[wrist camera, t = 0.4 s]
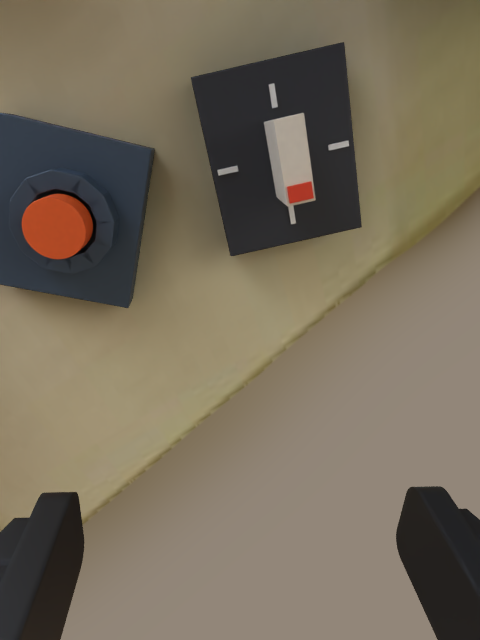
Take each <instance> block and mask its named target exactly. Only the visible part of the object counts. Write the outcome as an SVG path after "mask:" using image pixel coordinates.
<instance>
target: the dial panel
mask: <svg viewBox="0 0 480 640" xmlns="http://www.w3.org/2000/svg"><path fill="white" fill-rule="evenodd" d="M191 81H192V85H193V90H194V94H195V99H196V103H197V108H198V112H199V117H200V121H201V126H202V130H203V135H204V139H205V144H206V148H207V153H208V157H209V162H210V166H211V170H212V175H213V179H214V184H215V188H216V193H217V197H218V202H219V206H220V211H221V215H222V220H223V224H224V229H225V233H226V238H227V242H228V247H229V251H230V256H235V255H239V254H244V253H248V252H253V251H257V250H262V249H266V248H271V247H275V246H280V245H284V244H288V243H293V242H297V241H302V240H306V239H311V238H315V237H320V236H324V235H329V234H333V233H338V232H342V231H347V230H351V229H355V228H360V227H362V226H361V215H360V205H359V194H358V184H357V173H356V163H355V152H354V142H353V131H352V120H351V110H350V99H349V89H348V78H347V68H346V57H345V47H344V42H342V43H338V44H334V45H329V46H325V47H321V48H316V49H312V50H308V51H303V52H299V53H295V54H290V55H286V56H281V57H277V58H273V59H268V60H264V61H260V62H255V63H251V64H247V65H242V66H238V67H234V68H229V69H225V70H221V71H216V72H212V73H208V74H203V75H199V76H195V77H191ZM300 113H304V117H305V125H306V132H307V140H308V147H309V154H310V162H311V169H312V177H313V184H314V192H315V199H316V200H315V201H311V202H306V203H302V204H298V205H293V206H289V207H287V206H286V205H285V204H284V203H283V202H282V201H280V200H279V199H278V198H277V197H276V191H275V185H274V179H273V174H272V168H271V162H270V156H269V150H268V144H267V138H266V132H265V126H264V122H266V121H270V120H274V119H278V118H283V117H287V116H292V115H296V114H300Z"/></svg>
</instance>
